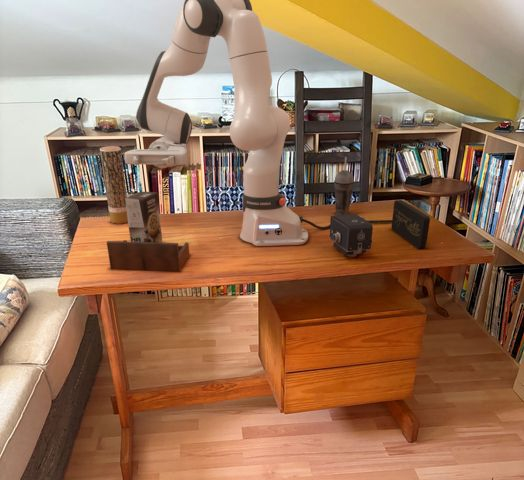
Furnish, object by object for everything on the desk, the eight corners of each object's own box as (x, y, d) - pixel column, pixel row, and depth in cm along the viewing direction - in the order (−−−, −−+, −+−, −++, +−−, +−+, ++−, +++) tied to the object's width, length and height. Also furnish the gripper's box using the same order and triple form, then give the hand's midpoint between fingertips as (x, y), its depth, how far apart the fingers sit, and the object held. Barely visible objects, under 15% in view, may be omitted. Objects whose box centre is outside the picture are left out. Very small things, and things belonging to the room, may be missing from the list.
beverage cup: (331, 216, 197) (335, 159, 187) (332, 210, 203) (336, 155, 193) (351, 216, 196) (356, 159, 186) (351, 211, 202) (356, 155, 192)
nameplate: (391, 228, 184) (394, 199, 179) (396, 228, 184) (399, 199, 179) (419, 249, 167) (424, 217, 161) (425, 249, 167) (430, 217, 162)
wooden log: (132, 218, 195) (123, 146, 182) (126, 224, 189) (116, 150, 176) (114, 218, 195) (103, 146, 183) (107, 224, 190) (96, 149, 177)
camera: (374, 261, 161) (351, 240, 172) (380, 225, 154) (356, 206, 166) (342, 265, 158) (321, 244, 169) (347, 229, 151) (325, 209, 163)
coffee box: (148, 252, 165) (142, 199, 157) (130, 249, 167) (123, 197, 159) (163, 242, 173) (158, 192, 164) (146, 240, 175) (140, 190, 166)
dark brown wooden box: (189, 255, 163) (187, 229, 159) (179, 271, 152) (177, 244, 148) (125, 252, 165) (121, 227, 161) (110, 269, 153) (106, 242, 149)
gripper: (130, 143, 179) (116, 151, 167) (190, 143, 177) (181, 151, 165) (133, 163, 182) (119, 172, 170) (192, 163, 180) (182, 172, 168)
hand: (150, 162), depth 168 cm, fingers open, 8 cm apart
